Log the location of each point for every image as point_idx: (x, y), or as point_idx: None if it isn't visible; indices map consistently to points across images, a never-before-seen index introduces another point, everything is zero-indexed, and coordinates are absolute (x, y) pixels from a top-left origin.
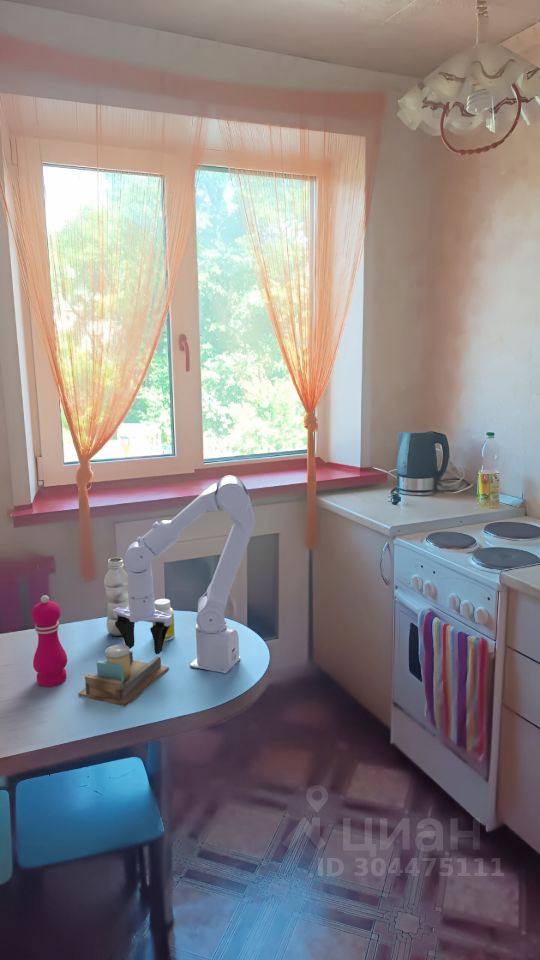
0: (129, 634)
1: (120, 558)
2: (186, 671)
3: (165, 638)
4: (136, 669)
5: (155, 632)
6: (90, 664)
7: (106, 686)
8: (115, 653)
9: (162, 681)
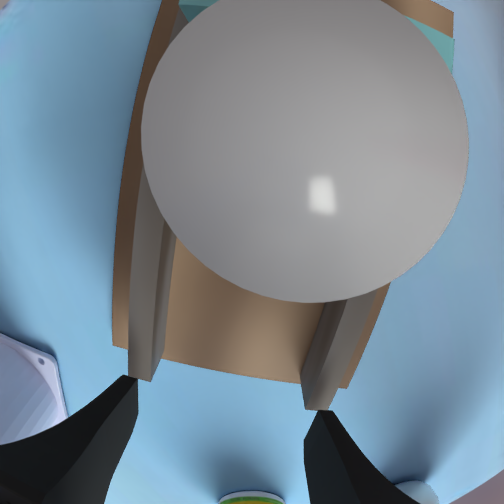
0: (329, 488)
1: None
2: (50, 325)
3: (234, 499)
4: (251, 309)
5: (20, 463)
6: (469, 325)
7: None
8: (294, 12)
9: (90, 233)
